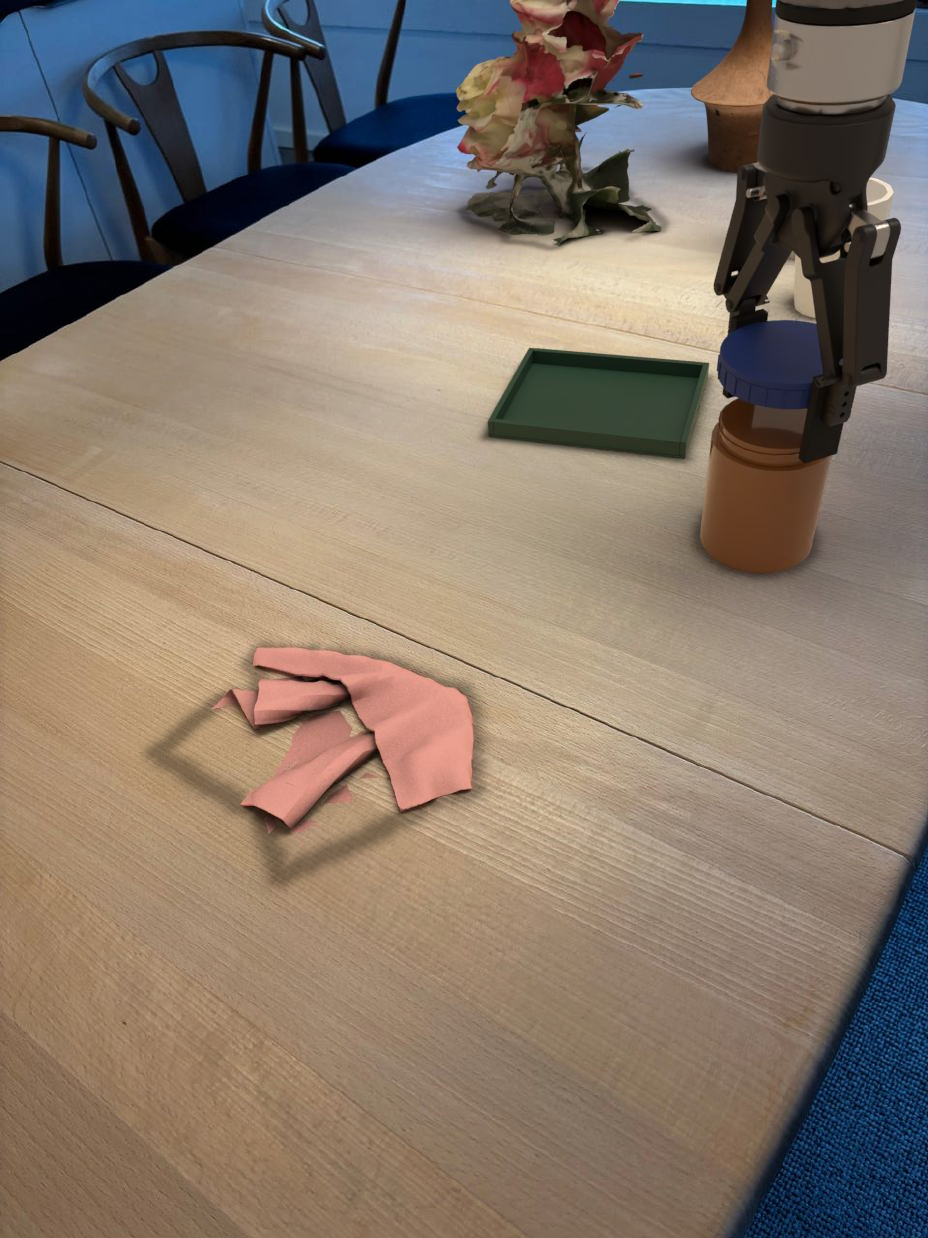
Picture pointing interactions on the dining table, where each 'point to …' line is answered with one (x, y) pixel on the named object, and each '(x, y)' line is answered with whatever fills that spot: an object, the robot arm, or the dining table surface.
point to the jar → (760, 489)
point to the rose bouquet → (549, 117)
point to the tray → (602, 402)
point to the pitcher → (738, 92)
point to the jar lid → (771, 363)
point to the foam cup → (877, 206)
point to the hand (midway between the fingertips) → (776, 422)
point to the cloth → (387, 705)
